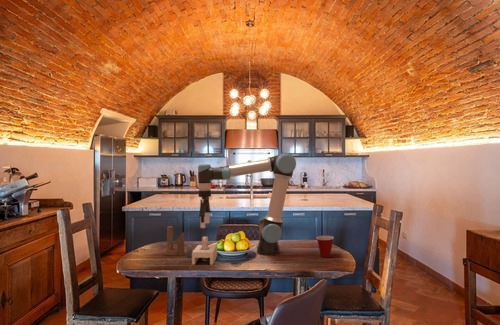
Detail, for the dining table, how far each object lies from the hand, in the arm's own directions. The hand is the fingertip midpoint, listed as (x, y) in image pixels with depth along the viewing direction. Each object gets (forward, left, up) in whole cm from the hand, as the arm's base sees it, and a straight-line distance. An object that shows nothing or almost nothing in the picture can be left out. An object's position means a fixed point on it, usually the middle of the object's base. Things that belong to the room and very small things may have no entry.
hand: (205, 225), depth 192 cm
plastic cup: (-73, -11, -21) cm, 77 cm away
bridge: (0, 0, -21) cm, 21 cm away
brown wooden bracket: (+21, -10, -21) cm, 32 cm away
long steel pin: (0, 0, -21) cm, 21 cm away
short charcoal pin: (+11, -7, -21) cm, 25 cm away
